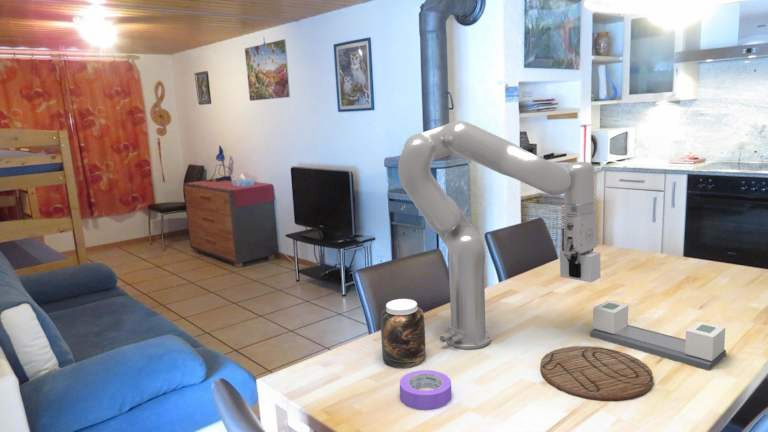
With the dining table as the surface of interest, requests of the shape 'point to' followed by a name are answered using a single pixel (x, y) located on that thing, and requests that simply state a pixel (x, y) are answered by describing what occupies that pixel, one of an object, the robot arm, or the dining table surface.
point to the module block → (583, 266)
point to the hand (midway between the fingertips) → (580, 273)
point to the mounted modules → (699, 337)
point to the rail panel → (656, 345)
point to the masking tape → (425, 397)
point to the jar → (403, 334)
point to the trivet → (596, 373)
